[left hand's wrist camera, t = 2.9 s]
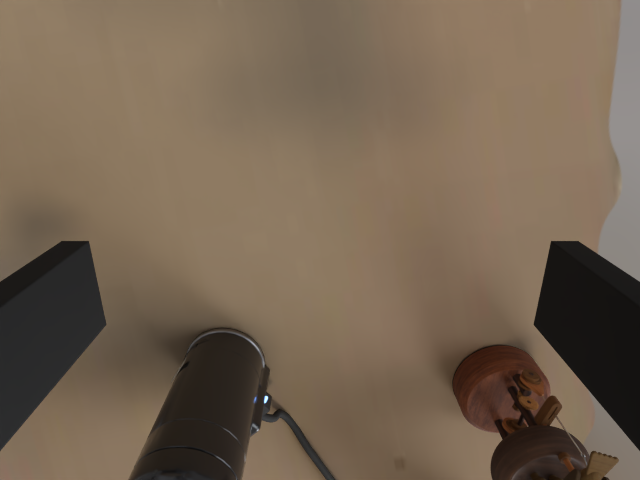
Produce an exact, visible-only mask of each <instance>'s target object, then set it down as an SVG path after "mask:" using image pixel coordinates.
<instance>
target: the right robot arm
mask: <svg viewBox="0 0 640 480" xmlns="http://www.w3.org/2000/svg"><path fill="white" fill-rule="evenodd" d="M269 372H270V369H269V368H268V367H267V366H266V365H265V359H264V355H263V352H262V350H261V348H260V347H259V345H258V344H257V343H256V342H255V341H254V340H253V339H252V338H251V337H249V336H248V335H246V334H245V333H242V332H240V331H237V330H234V329H227V328H219V329H212V330H209V331H206V332H204V333H202V334H201V335H199V336H198V337H197V338H196V339H194V341H193V342H192V343H191V345H190V347H189V349H188V351H187V354H186V356H185V359H184V362H183V363H182V365H181V367H180V368H179V370H178V371H177V373H178V374H177V373H176V374H175V376H176V375H177V376H176V379H175V381H174V383H173V385H172V387H171V389H170V391H169V393H168V396H167V398H166V400H165V402H164V404H163V406H162V408H161V411H160V413H159V415H158V417H157V419H156V421H155V423H154V425H153V428H152V430H151V432H150V434H149V436H148V438H147V441H146V443H145V445H144V447H143V449H142V451H141V453H140V455H139V458H138V460H137V462H136V464H135V466H134V469H133V470H132V473H131V475H130V477H129V479H128V480H242V477H243V472H244V466H245V461H246V456H247V450H248V445H249V440H250V437H251V436H252V435H254V434H255V433H256V432H258V430H259V429H260V426H261V420H263V421H266V422H275V421H277V420H278V419H279V417H280V418H282V419H283V420H285V421H286V422H287V424H288V425H289V426H290V427H291V429H292V430H293V432H294V433H295V435H296V437H297V438H298V440H299V442H300V443H301V445H302V447H303V448H304V450H305V451H306V452H307V454H308V455H309V457H310V458H311V459H312V461H313V462H314V463H315V465H316V466H317V467H318V469H319V470H320V471H321V473H322V474H323V476H324V477H325V478H326V480H335V479H334V478H333V476H332V475H331V474H330V472H329V471H328V469H327V468H326V467H325V465H324V464H323V462H322V461H321V460H320V458H319V457H318V456H317V454H316V453H315V452H314V450H313V449H312V447H311V446H310V444H309V443H308V441H307V440H306V438H305V436H304V435H303V433H302V431H301V430H300V428H299V427H298V425H297V424H296V423H295V421H294V420H293V419H292V418H291V416H290V415H289V414H287V413H286V412H284V411H282V410H277V411H275V412H274V414H273V415H272V414H267V412H269V411H270V405H271V398H272V397H271V396H270V395H269V394H268V393H267V392H266V390H267V384H268V378H269ZM175 376H174V377H173V379H174V378H175ZM172 381H173V380H172Z"/></svg>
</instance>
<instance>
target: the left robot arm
mask: <svg viewBox="0 0 640 480" xmlns="http://www.w3.org/2000/svg"><path fill="white" fill-rule="evenodd" d="M105 326H106V321H105V316H104V311H103V307H102V302H101V297H100V292H99V287H98V283H97V278H96V273H95V268H94V264H93V259H92V254H91V249H90V245H89V241H61V242H60V243H58V244H57V245H55V246H54V247H52V248H51V249H49V250H48V251H46V252H45V253H43V254H42V255H40V256H39V257H37V258H36V259H34V260H33V261H31V262H30V263H28V264H27V265H25V266H24V267H22V268H21V269H19V270H17V271H16V272H14V273H13V274H11V275H10V276H8V277H7V278H5V279H4V280H2V281H1V282H0V451H1V449H2V448H3V447H4V446H5V445H6V443H7V442H8V441H9V440H10V439H11V437H12V436H13V435H14V434H15V433H16V432H17V430H18V429H19V428H20V427H21V426H22V424H23V423H24V422H25V421H26V420H27V418H28V417H29V416H30V415H31V414H32V413H33V411H34V410H35V409H36V408H37V407H38V405H39V404H40V403H41V402H42V401H43V399H44V398H45V397H46V396H47V395H48V393H49V392H50V391H51V390H52V389H53V388H54V386H55V385H56V384H57V383H58V382H59V380H60V379H61V378H62V377H63V376H64V374H65V373H66V372H67V371H68V370H69V368H70V367H71V366H72V365H73V364H74V363H75V361H76V360H77V359H78V358H79V357H80V355H81V354H82V353H83V352H84V351H85V349H86V348H87V347H88V346H89V345H90V343H91V342H92V341H93V340H94V339H95V338H96V336H97V335H98V334H99V333H100V332H101V330H102V329H103V328H104V327H105ZM534 326H535V327H536V328H537V329H538V330H539V332H540V333H541V334H542V335H543V336H544V338H545V339H546V340H547V341H548V342H549V343H550V345H551V346H552V347H553V348H554V349H555V351H556V352H557V353H558V354H559V355H560V357H561V358H562V359H563V360H564V361H565V363H566V364H567V365H568V366H569V367H570V368H571V370H572V371H573V372H574V373H575V374H576V376H577V377H578V378H579V379H580V380H581V382H582V383H583V384H584V385H585V386H586V388H587V389H588V390H589V391H590V392H591V393H592V395H593V396H594V397H595V398H596V399H597V401H598V402H599V403H600V404H601V405H602V407H603V408H604V409H605V410H606V411H607V412H608V414H609V415H610V416H611V417H612V418H613V420H614V421H615V422H616V423H617V424H618V426H619V427H620V428H621V429H622V430H623V432H624V433H625V434H626V435H627V436H628V437H629V439H630V440H631V441H632V442H633V443H634V445H635V446H636V447H637V448H638V449H639V450H640V282H639V281H638V280H636V279H635V278H633V277H632V276H630V275H628V274H627V273H626V272H624V271H622V270H621V269H619V268H618V267H616V266H615V265H613V264H612V263H610V262H609V261H607V260H606V259H604V258H603V257H601V256H600V255H598V254H597V253H595V252H594V251H592V250H591V249H589V248H588V247H586V246H585V245H583V244H582V243H580V242H579V241H551V244H550V249H549V254H548V259H547V264H546V268H545V273H544V278H543V283H542V287H541V292H540V297H539V302H538V307H537V311H536V316H535V321H534Z"/></svg>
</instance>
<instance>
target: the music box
mask: <svg viewBox="0 0 640 480" xmlns="http://www.w3.org/2000/svg"><path fill="white" fill-rule="evenodd" d="M453 390H454V394H455V396H456V399H457V401H458V404H459V406H460V408H461V411H462V413H463V415H464V417H465V418H466V420H467V421H468V422H469V423H470V424H472V425H473V426H475V427H476V428H479V429H481V430H484V431H488V432H495V433H500V435H501V437H502V439H503V440H502V441H501V442H500V443H499V445H498V446H497V447H496V449H495V451H494V453H493V456H492V460H491V475H492V479H493V480H609V479H608V478H607V477H604V476H605V475H606V474H607V473H608V472H609V471H610V470H611V469H612V468H613V467H614V466H615V465H616V464H617V463H618V461H619V460H618V458H617V457H612V456H611V455H609V456H607V455H606V454H602V453H600V452H599V453H597V452H596V451H592V452H591V454H590V456H589V454H588V452H587V450H586V449H585V447H584V446H583V445H582V443H581V442H580V441H579V440H578V439H577V438H575V437H574V436H573V435H571V434H570V433H568V432H567V430H566V429H565V427H564V426H563V425H562V423H561V422H560V420H559V419H558V417H557V414H558V413H559V411H560V410H561V408H562V405H561V404H560V402H559V401H558V399H557V398H556V397H555V396H550V385H549V382H548V380H547V378H546V376H545V375H544V374H543V372H542V371H541V369H540V368H539V367H538V365H537V364H536V363H535V361H534V360H533V359H532V357H531V356H530V355H528V354H527V353H526V352H524V351H522V350H520V349H518V348H515V347H511V346H492V347H488V348H484V349H482V350H479V351H477V352H475V353H473V354H472V355H470V356H469V357H468V358H467V359H465V360H464V361H463V362H462V364H461V365H460V366H459V368H458V369H457V371H456V373H455V376H454V380H453ZM555 417H556V418H557V420H558V421H559V423H560V424H561V425H562V427H563V428H564V430H565V431H564V430H562V429H559V428H556V427H552V426H550V424H551V423H552V421H553V420H554V419H555ZM527 426H528V427H527Z"/></svg>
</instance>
